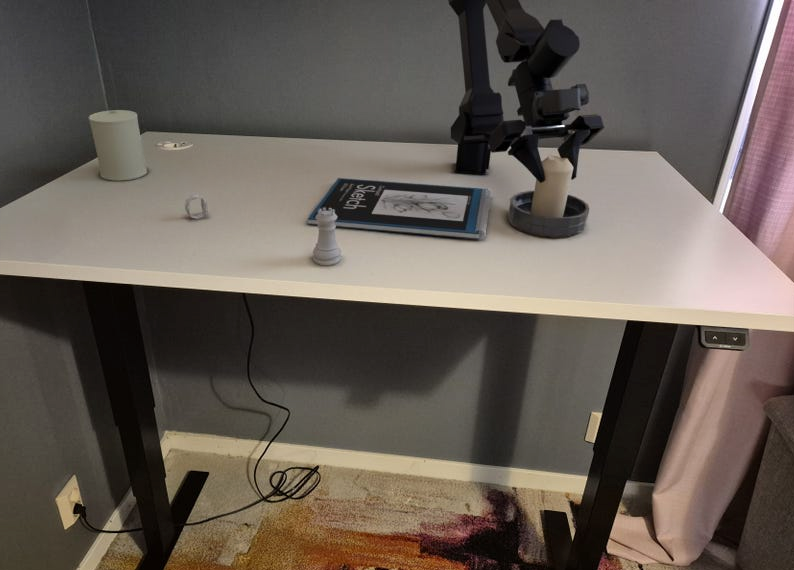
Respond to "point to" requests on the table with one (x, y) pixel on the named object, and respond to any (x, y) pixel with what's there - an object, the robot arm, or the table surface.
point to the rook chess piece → (326, 239)
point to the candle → (552, 187)
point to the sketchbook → (407, 208)
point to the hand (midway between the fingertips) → (558, 180)
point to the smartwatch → (203, 204)
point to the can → (118, 144)
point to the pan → (547, 226)
